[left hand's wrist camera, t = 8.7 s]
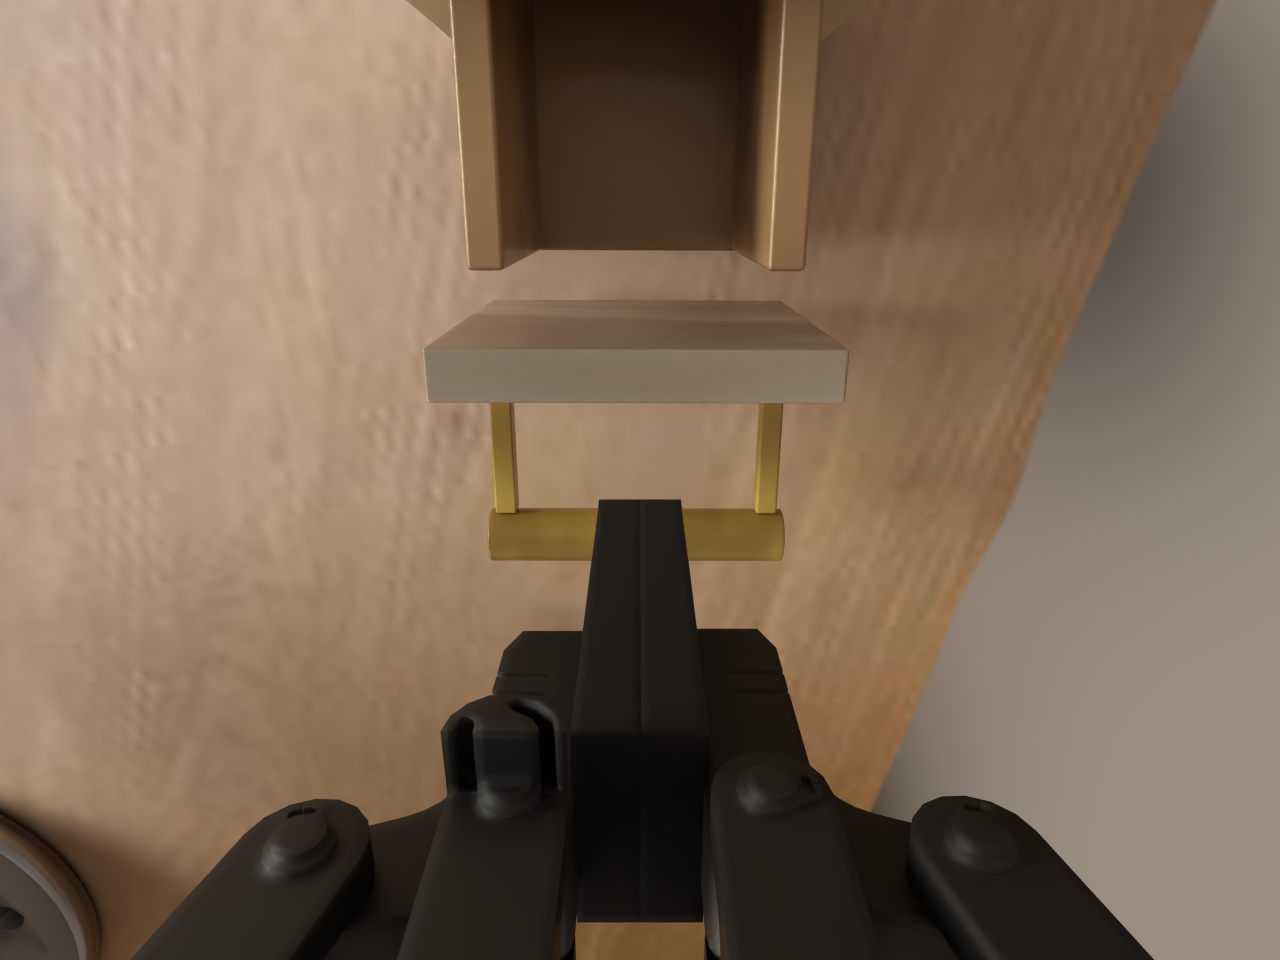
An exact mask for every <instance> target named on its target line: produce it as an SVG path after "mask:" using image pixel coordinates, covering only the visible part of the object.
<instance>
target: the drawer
mask: <svg viewBox="0 0 1280 960" xmlns="http://www.w3.org/2000/svg"><path fill="white" fill-rule="evenodd" d="M823 6H824V0H449V9H450V23H451V38H452V53H453V68H454V83H455V97H456V112H457V127H458V142H459V157H460V171H461V186H462V201H463V216H464V231H465V245H466V260H467V267H468V269H470V270H502V269H504V268H506V267H508V266H510V265H512V264H514V263H515V262H517V261H519V260H521V259H523V258H525V257H527V256H529V255H531V254H533V253H535V252H537V251H538V250H734V251H736V252H738V253H739V254H741V255H743V256H745V257H747V258H749V259H750V260H752V261H754V262H756V263H758V264H760V265H761V266H763V267H765V268H767V269H769V270H771V271H802V270H804V268H805V263H806V249H807V234H808V220H809V206H810V191H811V177H812V163H813V149H814V134H815V120H816V106H817V91H818V77H819V63H820V48H821V34H822V20H823ZM848 360H849V350H848V349H846V348H845V347H844V346H842V345H841V344H839V343H838V342H837V341H835V340H834V339H832V338H831V337H830V336H828V335H827V334H826V333H824V332H823V331H821V330H820V329H819V328H817V327H816V326H815V325H813V324H812V323H810V322H809V321H808V320H806V319H805V318H803V317H802V316H801V315H799V314H798V313H797V312H795V311H794V310H792V309H791V308H790V307H788V306H787V305H785V304H784V303H783V302H781V301H637V300H493V301H491V302H490V303H488V304H487V305H485V306H484V307H483V308H481V309H480V310H478V311H477V312H475V313H474V314H473V315H471V316H470V317H468V318H467V319H465V320H464V321H463V322H461V323H460V324H458V325H457V326H455V327H454V328H452V329H451V330H450V331H448V332H447V333H445V334H444V335H442V336H441V337H440V338H438V339H437V340H435V341H434V342H432V343H431V344H430V345H428V346H427V347H425V348H424V349H423V363H424V374H425V385H426V397H427V401H428V402H430V403H489V407H490V424H491V440H492V456H493V472H494V488H495V504H496V508H493V509H492V510H491V512H490V515H489V521H488V551H489V556H490V558H491V560H508V561H592V554H593V546H594V538H595V530H596V522H597V514H598V508H518V506H519V494H518V475H517V456H516V436H515V417H514V403H759V413H758V431H757V450H756V468H755V487H754V508H755V509H682V514H683V522H684V530H685V538H686V546H687V554H688V561H780V560H781V559H782V557H783V552H784V543H785V530H784V519H783V515H782V512H781V510H780V509H777V494H778V478H779V463H780V447H781V432H782V416H783V403H817V404H842V403H844V401H845V393H846V382H847V371H848Z"/></svg>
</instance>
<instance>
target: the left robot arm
mask: <svg viewBox="0 0 1280 960" xmlns="http://www.w3.org/2000/svg"><path fill="white" fill-rule="evenodd" d="M782 671H783V670H782V667H781V663H780V660H779V656H778V653H777V649H776V647H775V646H774V645H773V644H772V643H771V642H770V641H769V640H768V639H767V638H766V637H765V636H764V635H763V634H762V633H761V632H760V631H759V630H758V629H697V626H696V618H695V610H694V602H693V594H692V586H691V578H690V570H689V562H688V554H687V546H686V538H685V530H684V522H683V514H682V506H681V500H599V506H598V514H597V522H596V530H595V538H594V546H593V554H592V562H591V570H590V578H589V586H588V594H587V602H586V610H585V618H584V626H583V631H523V632H522V633H521V634H520V635H519V636H518V637H517V638H516V639H515V640H514V641H513V642H512V643H511V644H510V645H509V646H508V647H507V648H506V649H505V650H504V652H503V656H502V659H501V663H500V666H499V670H498V677H496V680H495V684H494V688H493V691H492V695H490V696H487V697H484V698H481V699H479V700H476V701H473V702H471V703H468V704H467V705H465V706H464V707H462V708H461V709H460V710H458V711H457V712H455V713H454V714H453V715H451V716H450V718H449V719H448V721H447V722H446V724H445V725H444V727H443V728H442V730H441V740H442V749H443V758H444V767H445V776H446V785H447V797H446V798H445V799H444V800H443V801H441V802H440V803H438V804H436V805H434V806H432V807H430V808H428V809H426V810H424V811H421V812H418V813H415V814H412V815H409V816H407V817H403V818H399V819H395V820H391V821H387V822H383V823H379V824H375V825H371V826H369V824H368V820H367V819H366V818H365V816H364V815H363V814H362V813H361V811H360V810H359V809H358V808H357V807H355V806H353V805H350V804H348V803H346V802H343V801H341V800H330V799H313V800H309V801H305V802H301V803H296V804H292V805H289V806H287V807H285V808H283V809H281V810H279V811H277V812H275V813H273V814H271V815H269V816H267V817H265V818H263V819H262V820H261V821H260V822H259V823H257V824H256V825H255V826H254V827H253V828H251V829H250V830H249V831H248V832H247V833H245V834H244V835H243V836H242V837H241V839H240V840H239V841H238V842H237V843H236V844H235V845H234V846H233V847H232V848H231V850H230V851H229V852H228V853H227V854H226V855H225V856H224V857H223V858H222V859H221V861H220V862H219V863H218V864H217V865H216V866H215V867H214V868H213V869H212V870H211V872H210V873H209V874H208V875H207V876H206V877H205V878H204V879H203V880H202V881H201V883H200V884H199V885H198V886H197V887H196V888H195V889H194V890H193V891H192V892H191V894H190V895H189V896H188V897H187V898H186V899H185V900H184V901H183V902H182V903H181V905H180V906H179V907H178V908H177V909H176V910H175V911H174V912H173V913H172V915H171V916H170V917H169V918H168V919H167V920H166V921H165V922H164V923H163V924H162V926H161V927H160V928H159V929H158V930H157V931H156V932H155V933H154V934H153V935H152V937H151V938H150V939H149V940H148V941H147V942H146V943H145V944H144V945H143V946H142V948H141V949H140V950H139V951H138V952H137V953H136V954H135V955H134V956H133V957H132V959H131V960H576V948H575V928H576V916H577V922H703V912H704V924H705V948H704V960H1154V959H1153V958H1152V957H1151V956H1150V955H1149V954H1148V952H1147V951H1146V950H1145V949H1144V948H1143V947H1142V946H1141V945H1140V944H1139V943H1138V942H1137V940H1136V939H1135V938H1134V937H1133V936H1132V935H1131V934H1130V933H1129V932H1128V931H1127V929H1126V928H1125V927H1124V926H1123V925H1122V924H1121V923H1120V922H1119V921H1118V920H1117V919H1116V917H1115V916H1114V915H1113V914H1112V913H1111V912H1110V911H1109V910H1108V909H1107V908H1106V907H1105V905H1104V904H1103V903H1102V902H1101V901H1100V900H1099V899H1098V898H1097V897H1096V896H1095V895H1094V893H1093V892H1092V891H1091V890H1090V889H1089V888H1088V887H1087V886H1086V885H1085V884H1084V882H1083V881H1082V880H1081V879H1080V878H1079V877H1078V876H1077V875H1076V874H1075V873H1074V872H1073V870H1072V869H1071V868H1070V867H1069V866H1068V865H1067V864H1066V863H1065V862H1064V861H1063V860H1062V858H1061V857H1060V856H1059V855H1058V854H1057V853H1056V852H1055V851H1054V850H1053V849H1052V847H1051V846H1050V845H1049V844H1048V843H1047V842H1046V841H1045V840H1044V839H1043V838H1042V837H1041V835H1040V834H1039V833H1038V832H1037V831H1036V830H1034V829H1033V828H1032V827H1031V826H1030V825H1028V824H1027V823H1026V822H1025V821H1024V820H1022V819H1021V818H1020V817H1019V816H1018V815H1016V814H1015V813H1013V812H1011V811H1009V810H1007V809H1004V808H1002V807H1000V806H998V805H996V804H994V803H992V802H989V801H985V800H981V799H977V798H972V797H968V796H943V797H939V798H937V799H934V800H932V801H930V802H927V803H925V804H923V805H922V806H921V808H920V809H919V810H918V811H917V813H916V814H915V815H914V816H913V818H912V823H910V822H906V821H902V820H898V819H894V818H890V817H886V816H882V815H877V814H874V813H871V812H868V811H865V810H862V809H859V808H856V807H854V806H852V805H850V804H848V803H846V802H845V801H843V800H841V799H839V798H837V797H836V796H835V795H834V794H833V793H832V791H831V789H830V787H829V786H828V784H827V782H826V780H825V779H824V777H823V776H822V775H821V774H820V773H818V772H817V771H816V770H815V769H813V768H812V767H811V766H810V764H809V761H808V758H807V754H806V751H805V747H804V744H803V740H802V737H801V733H800V730H799V726H798V723H797V719H796V716H795V712H794V709H793V705H792V702H791V698H790V695H789V694H788V688H787V684H786V681H785V677H784V675H783V672H782ZM99 950H100V931H99V924H98V920H97V917H96V913H95V910H94V908H93V905H92V903H91V900H90V898H89V897H88V895H87V893H86V891H85V889H84V887H83V886H82V885H81V883H80V882H79V880H78V879H77V877H76V876H75V875H74V873H73V872H72V871H71V870H70V868H69V867H68V866H67V865H66V864H65V863H64V862H63V861H62V860H61V859H60V858H59V857H58V856H57V854H56V853H55V852H53V851H52V850H51V849H50V848H49V847H48V846H47V845H45V844H44V843H43V842H42V841H41V840H39V839H38V838H37V837H35V836H34V835H33V834H31V833H30V832H29V831H27V830H26V829H24V828H23V827H21V826H20V825H18V824H16V823H15V822H13V821H11V820H10V819H8V818H6V817H4V816H3V815H1V814H0V960H98V957H99Z"/></svg>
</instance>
